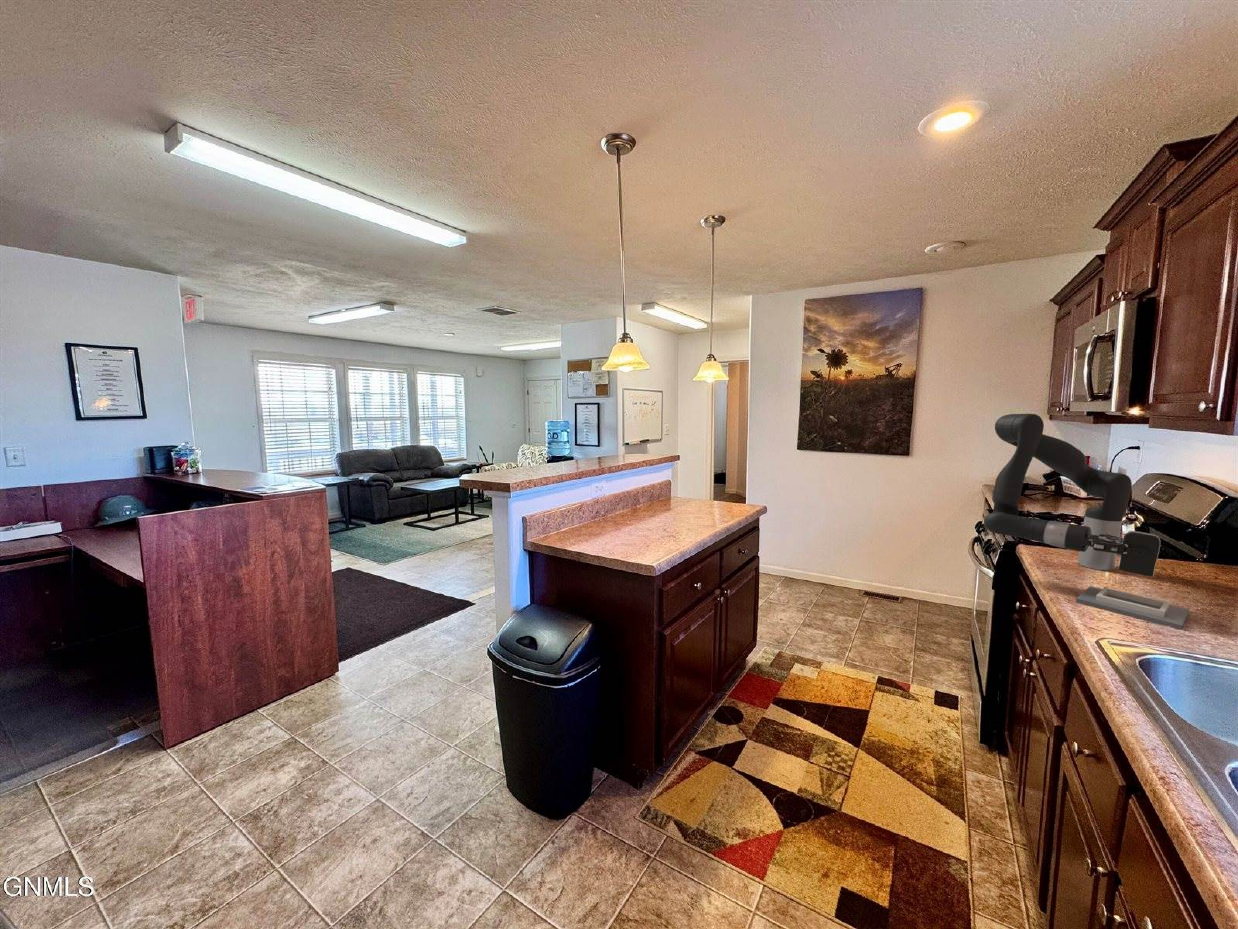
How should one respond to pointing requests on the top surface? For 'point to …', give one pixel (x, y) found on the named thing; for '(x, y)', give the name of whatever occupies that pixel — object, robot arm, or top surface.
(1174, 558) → the top surface
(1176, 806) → the top surface
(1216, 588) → the top surface
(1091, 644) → the top surface
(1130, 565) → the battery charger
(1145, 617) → the holder
